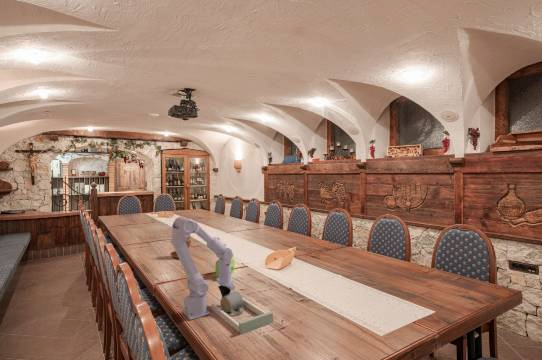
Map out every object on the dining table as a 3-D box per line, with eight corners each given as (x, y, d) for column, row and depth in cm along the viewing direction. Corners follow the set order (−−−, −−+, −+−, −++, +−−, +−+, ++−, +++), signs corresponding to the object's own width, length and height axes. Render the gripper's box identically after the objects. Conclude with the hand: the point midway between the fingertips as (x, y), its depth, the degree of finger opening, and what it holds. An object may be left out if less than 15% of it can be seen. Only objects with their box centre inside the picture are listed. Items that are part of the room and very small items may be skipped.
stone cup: (194, 257, 232) (193, 237, 232) (179, 260, 224) (178, 240, 224) (184, 253, 243) (183, 234, 243) (169, 256, 235) (169, 237, 235)
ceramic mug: (219, 310, 142) (219, 293, 142) (233, 304, 148) (233, 288, 148) (234, 318, 135) (233, 300, 134) (248, 311, 141) (248, 295, 140)
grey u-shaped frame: (241, 334, 121) (240, 323, 121) (211, 309, 143) (211, 301, 143) (273, 322, 130) (272, 312, 130) (240, 301, 152) (240, 293, 152)
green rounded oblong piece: (228, 281, 181) (228, 265, 180) (212, 279, 183) (212, 263, 183) (238, 271, 199) (238, 256, 198) (223, 269, 201) (223, 255, 200)
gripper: (240, 274, 144) (240, 303, 144) (225, 267, 156) (226, 294, 156) (226, 277, 140) (227, 307, 140) (212, 269, 152) (213, 297, 152)
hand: (225, 300), depth 148 cm, fingers closed
